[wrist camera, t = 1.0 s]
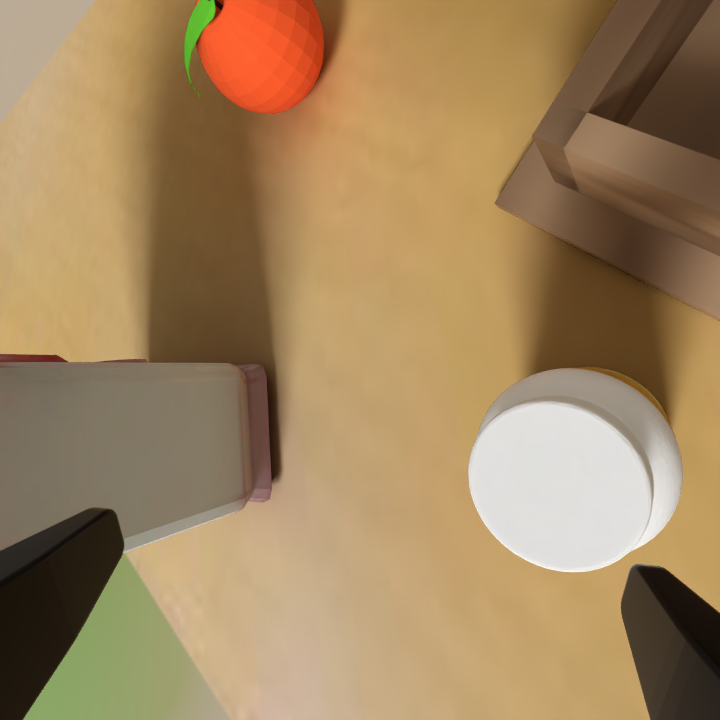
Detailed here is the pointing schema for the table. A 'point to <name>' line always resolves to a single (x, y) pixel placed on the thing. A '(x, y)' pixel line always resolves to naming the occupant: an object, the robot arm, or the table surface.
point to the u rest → (636, 151)
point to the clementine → (258, 50)
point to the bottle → (129, 443)
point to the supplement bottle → (575, 468)
